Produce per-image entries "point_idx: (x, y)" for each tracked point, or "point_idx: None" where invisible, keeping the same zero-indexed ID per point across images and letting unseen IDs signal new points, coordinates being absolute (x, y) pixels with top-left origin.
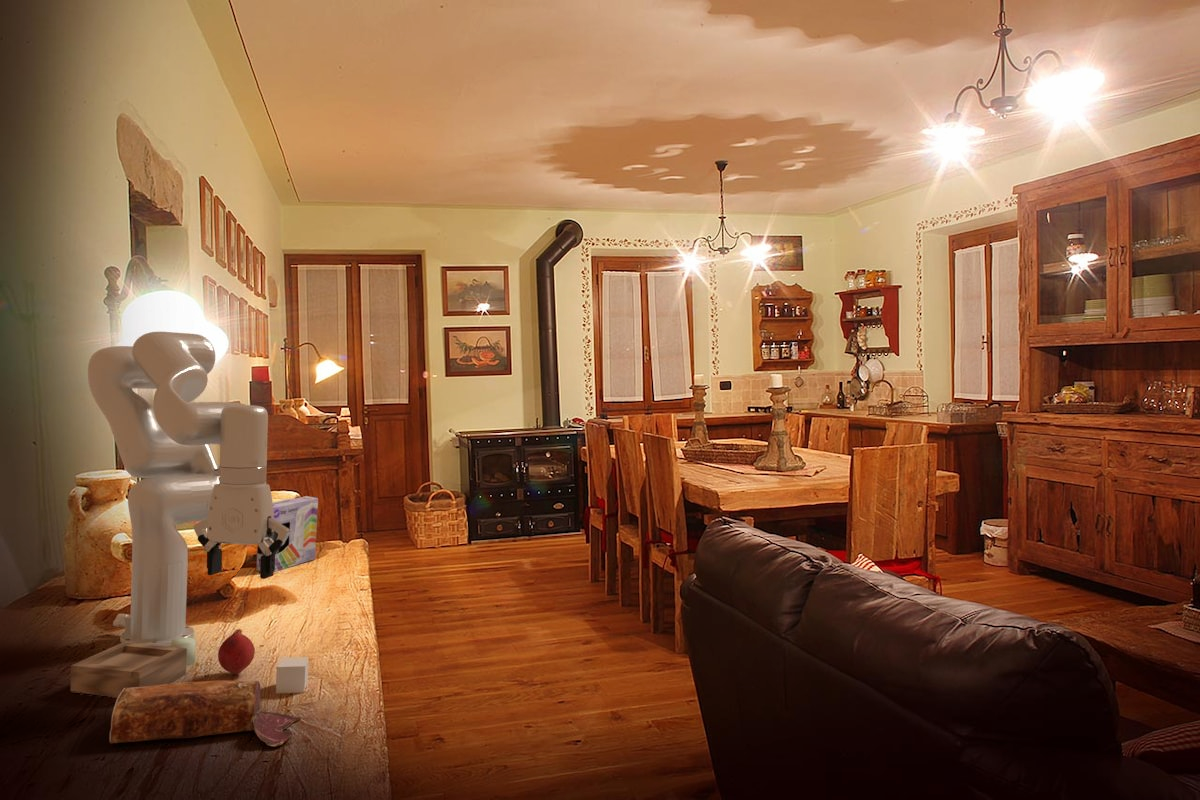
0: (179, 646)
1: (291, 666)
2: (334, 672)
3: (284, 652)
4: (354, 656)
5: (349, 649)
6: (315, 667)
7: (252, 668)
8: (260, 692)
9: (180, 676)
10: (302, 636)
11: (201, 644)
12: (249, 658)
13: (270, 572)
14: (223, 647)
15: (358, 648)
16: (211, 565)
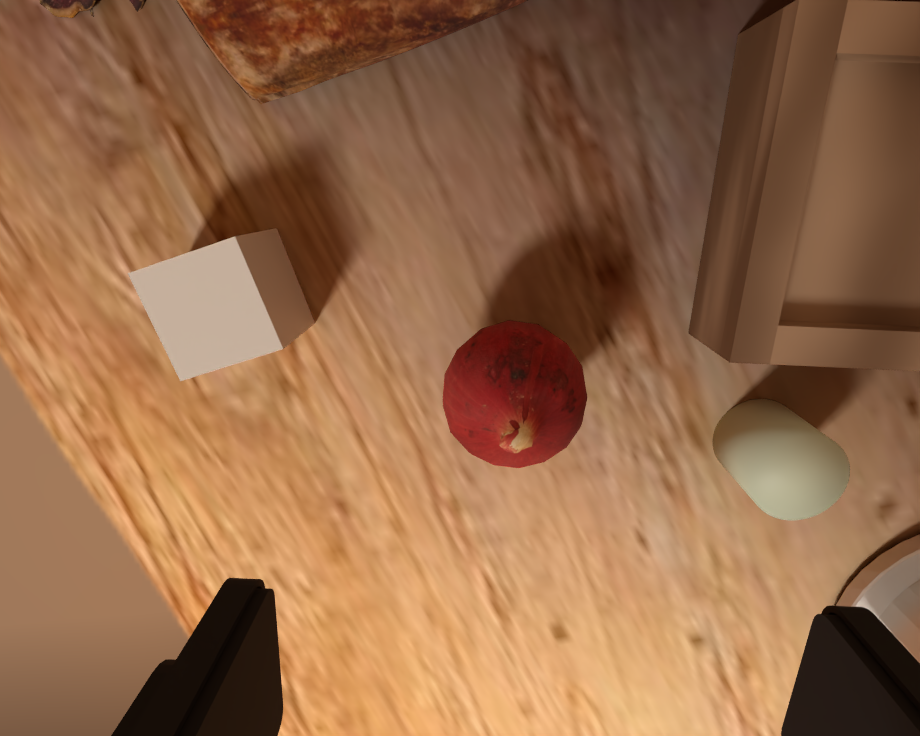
0: (790, 430)
1: (178, 256)
2: (194, 455)
3: (453, 589)
4: (212, 597)
5: None
6: (280, 485)
7: None
8: (238, 82)
9: (694, 300)
10: (470, 726)
11: (770, 607)
12: (445, 373)
13: (168, 661)
14: (550, 356)
15: None
16: (891, 690)
